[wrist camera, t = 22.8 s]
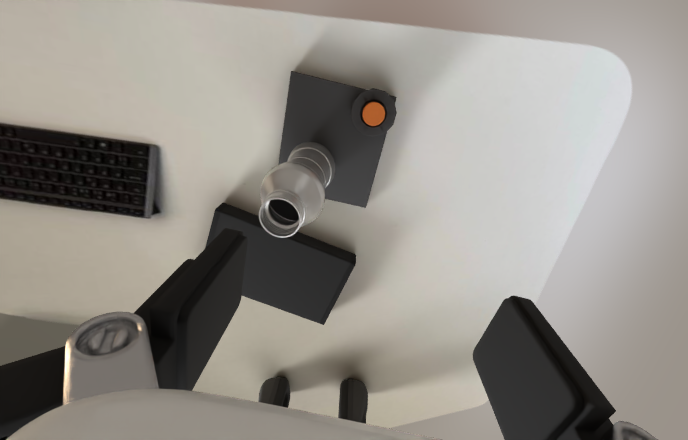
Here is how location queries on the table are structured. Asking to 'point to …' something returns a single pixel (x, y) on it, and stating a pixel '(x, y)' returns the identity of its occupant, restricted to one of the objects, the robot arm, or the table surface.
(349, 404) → the headphones
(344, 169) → the scale
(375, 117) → the button
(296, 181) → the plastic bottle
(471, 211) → the table surface
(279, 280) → the external hard drive
